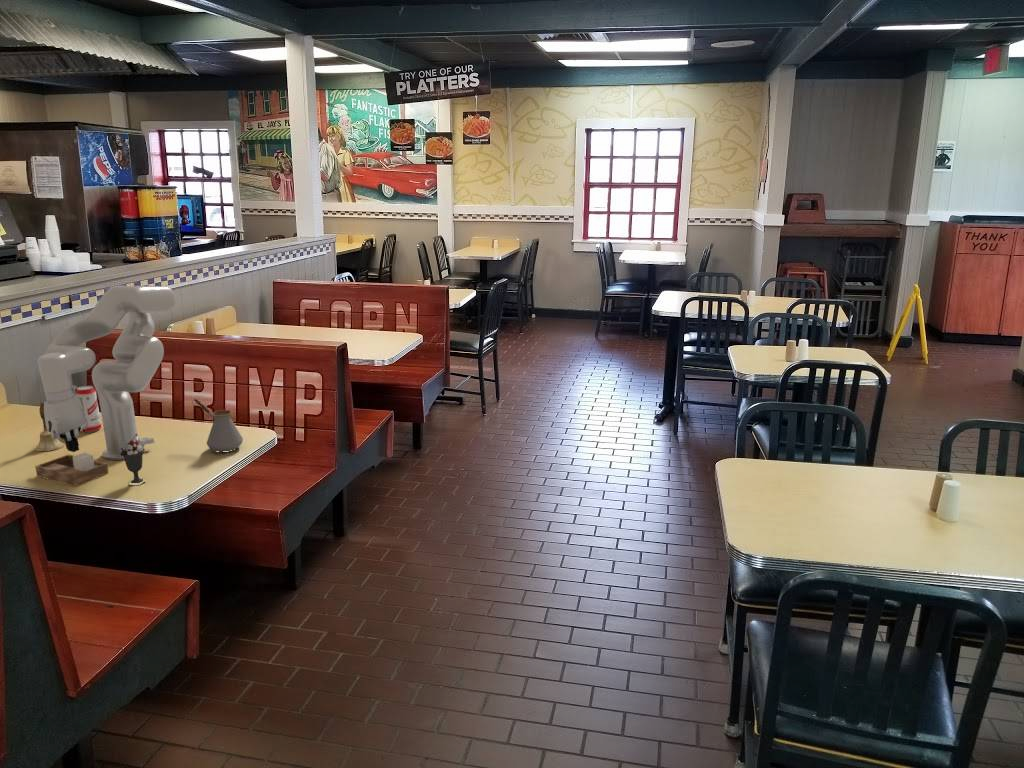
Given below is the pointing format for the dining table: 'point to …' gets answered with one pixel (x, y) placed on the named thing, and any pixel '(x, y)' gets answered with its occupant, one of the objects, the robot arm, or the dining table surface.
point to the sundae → (133, 458)
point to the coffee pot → (222, 431)
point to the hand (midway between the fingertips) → (73, 450)
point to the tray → (69, 471)
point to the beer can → (89, 407)
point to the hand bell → (47, 436)
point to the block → (83, 461)
